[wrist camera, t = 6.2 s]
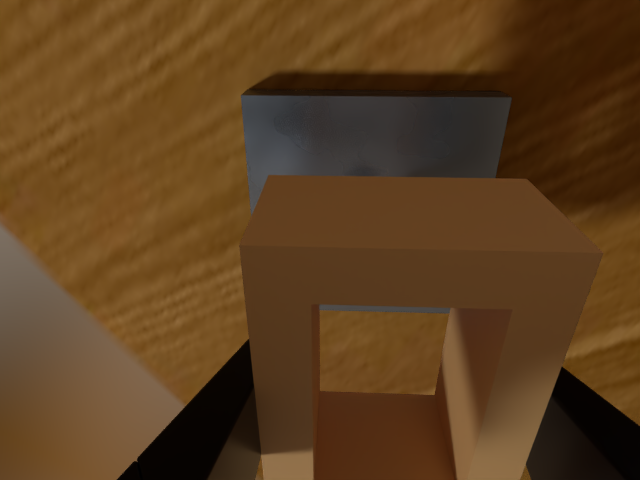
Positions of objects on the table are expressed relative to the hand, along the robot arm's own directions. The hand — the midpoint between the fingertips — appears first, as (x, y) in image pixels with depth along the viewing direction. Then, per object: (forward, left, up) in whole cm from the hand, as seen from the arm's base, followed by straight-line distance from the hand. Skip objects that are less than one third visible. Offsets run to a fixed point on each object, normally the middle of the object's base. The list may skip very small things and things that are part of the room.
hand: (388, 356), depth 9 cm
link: (0, 0, -1) cm, 1 cm away
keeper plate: (0, 0, -8) cm, 8 cm away
